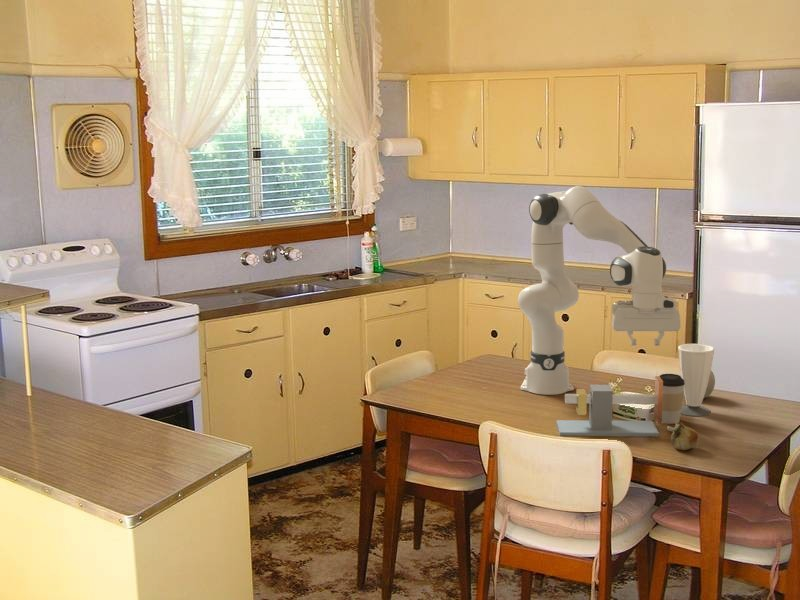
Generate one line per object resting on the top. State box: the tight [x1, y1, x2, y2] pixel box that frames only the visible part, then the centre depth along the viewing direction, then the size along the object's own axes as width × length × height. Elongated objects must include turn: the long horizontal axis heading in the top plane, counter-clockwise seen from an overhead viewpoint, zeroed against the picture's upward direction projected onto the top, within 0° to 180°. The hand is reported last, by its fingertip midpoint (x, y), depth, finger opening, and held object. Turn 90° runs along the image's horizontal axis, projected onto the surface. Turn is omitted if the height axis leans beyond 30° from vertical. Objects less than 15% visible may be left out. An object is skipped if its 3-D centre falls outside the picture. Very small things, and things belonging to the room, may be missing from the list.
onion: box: [666, 421, 699, 451], centre depth 287 cm, size 8×8×8 cm
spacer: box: [575, 388, 588, 416], centre depth 304 cm, size 6×2×6 cm, turn 176°
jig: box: [555, 384, 660, 437], centre depth 304 cm, size 12×30×14 cm, turn 86°
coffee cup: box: [659, 373, 685, 425], centre depth 312 cm, size 9×9×15 cm
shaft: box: [564, 375, 663, 425], centre depth 304 cm, size 6×29×14 cm, turn 86°
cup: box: [677, 343, 715, 417], centre depth 321 cm, size 12×12×22 cm
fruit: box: [703, 370, 716, 399], centre depth 336 cm, size 10×12×15 cm
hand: (645, 345), depth 300 cm, fingers open, 6 cm apart
